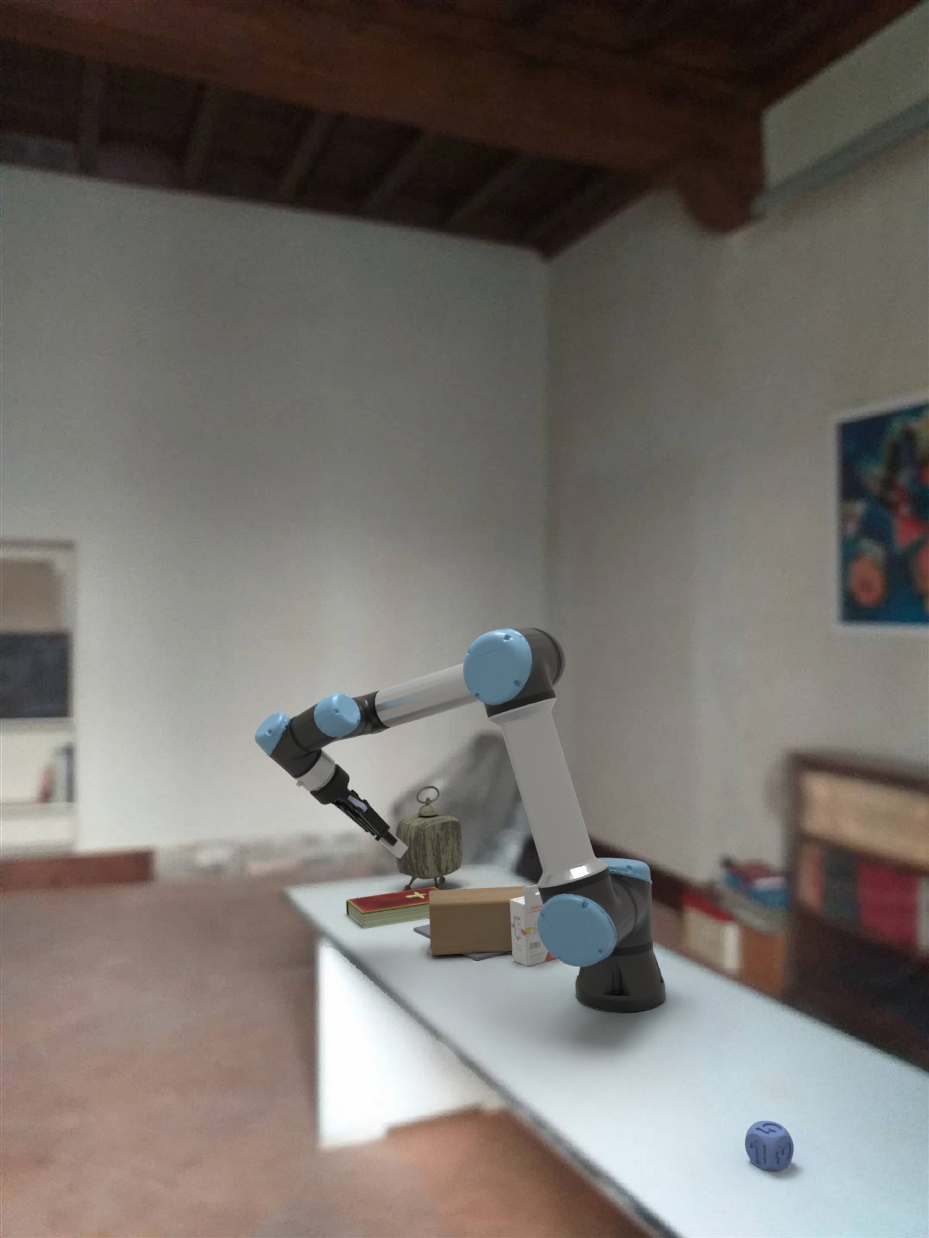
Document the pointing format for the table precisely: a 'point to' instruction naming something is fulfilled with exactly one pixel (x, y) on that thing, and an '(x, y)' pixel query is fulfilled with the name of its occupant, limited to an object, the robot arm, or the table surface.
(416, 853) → the tabletop clock
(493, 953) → the mat
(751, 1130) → the decorative dice
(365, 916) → the hardcover book
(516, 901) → the ink cartridge box
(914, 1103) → the table surface
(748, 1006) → the table surface
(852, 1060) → the table surface
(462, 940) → the wooden block
